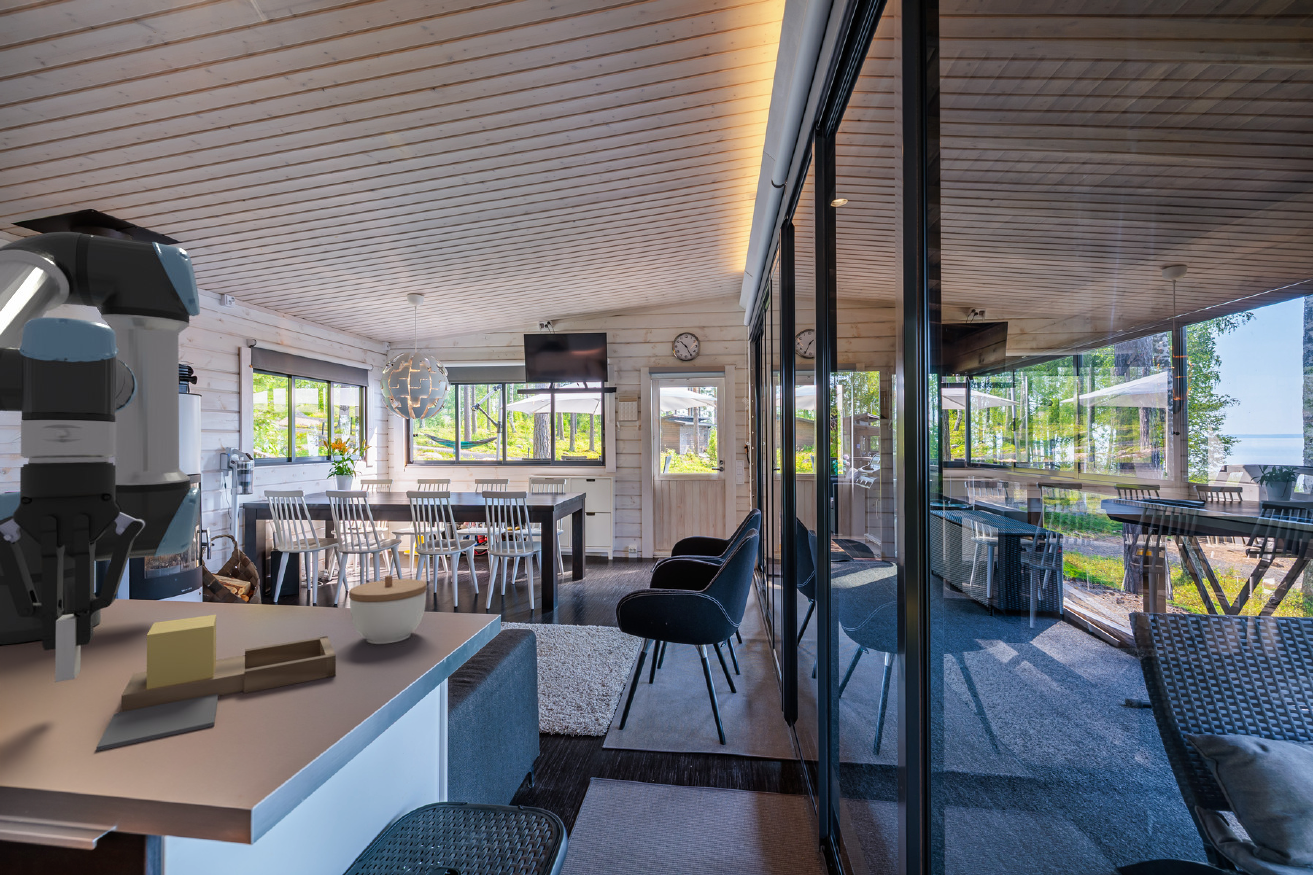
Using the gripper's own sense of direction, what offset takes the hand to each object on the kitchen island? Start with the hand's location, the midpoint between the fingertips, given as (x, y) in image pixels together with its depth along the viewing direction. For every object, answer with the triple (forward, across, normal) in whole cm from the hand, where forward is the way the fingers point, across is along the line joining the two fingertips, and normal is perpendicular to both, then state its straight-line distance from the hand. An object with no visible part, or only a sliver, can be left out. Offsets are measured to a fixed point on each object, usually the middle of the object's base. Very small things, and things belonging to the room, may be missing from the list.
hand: (68, 676), depth 66 cm
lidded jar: (+4, +34, +8) cm, 35 cm away
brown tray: (+4, +16, 0) cm, 16 cm away
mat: (+4, +9, -9) cm, 13 cm away
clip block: (-1, +10, 0) cm, 10 cm away
